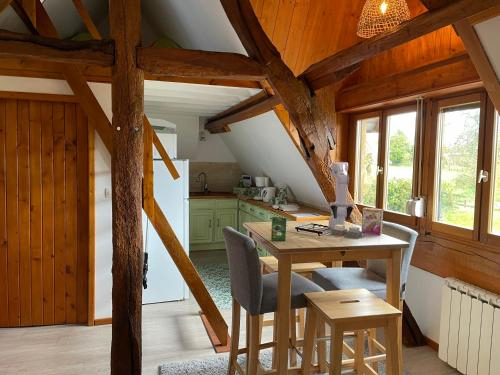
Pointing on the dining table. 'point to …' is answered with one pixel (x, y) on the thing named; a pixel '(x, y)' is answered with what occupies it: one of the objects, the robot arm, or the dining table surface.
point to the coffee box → (278, 229)
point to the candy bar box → (372, 221)
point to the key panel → (347, 234)
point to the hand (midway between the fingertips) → (341, 219)
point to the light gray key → (354, 229)
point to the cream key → (339, 227)
